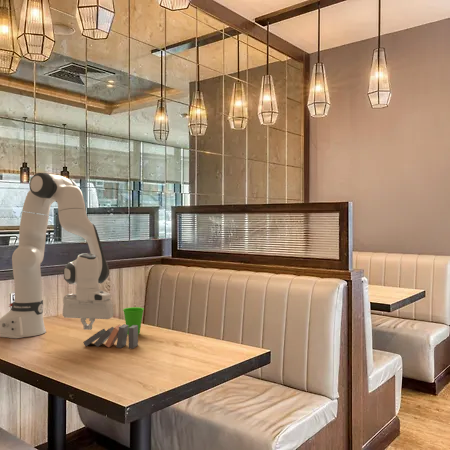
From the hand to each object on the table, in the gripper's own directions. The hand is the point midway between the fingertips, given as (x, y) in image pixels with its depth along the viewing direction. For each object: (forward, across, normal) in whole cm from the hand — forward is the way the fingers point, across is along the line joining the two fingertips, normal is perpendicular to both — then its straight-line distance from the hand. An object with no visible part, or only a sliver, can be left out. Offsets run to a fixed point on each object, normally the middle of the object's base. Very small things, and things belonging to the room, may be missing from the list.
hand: (87, 329), depth 181 cm
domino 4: (+6, +14, 0) cm, 15 cm away
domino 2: (+6, +4, 0) cm, 7 cm away
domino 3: (+6, +9, 0) cm, 11 cm away
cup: (+6, +12, +19) cm, 23 cm away
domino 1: (+5, 0, 0) cm, 5 cm away
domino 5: (+6, +19, 0) cm, 20 cm away
